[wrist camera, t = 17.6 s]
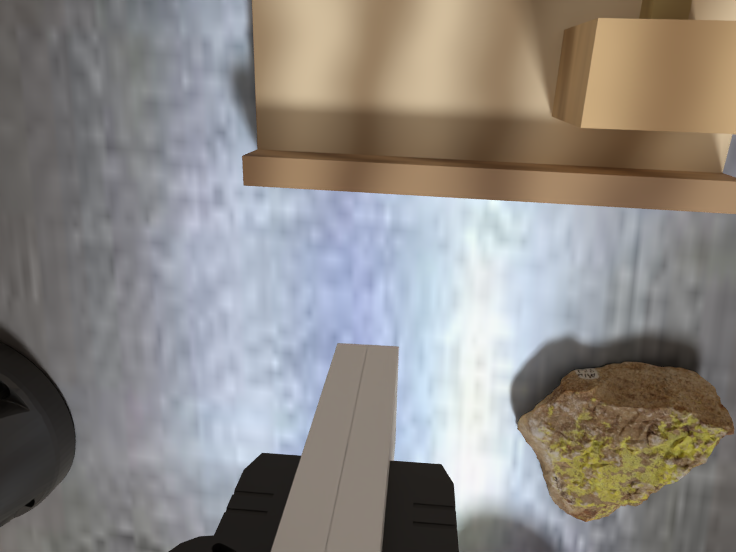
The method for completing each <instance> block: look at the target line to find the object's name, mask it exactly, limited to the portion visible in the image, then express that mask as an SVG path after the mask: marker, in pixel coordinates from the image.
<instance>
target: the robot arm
mask: <svg viewBox="0 0 736 552" xmlns="http://www.w3.org/2000/svg"><path fill="white" fill-rule="evenodd" d="M398 352H399V347H397V346H379V345H361V344H343V343H338V344H337V347H336V350H335V353H334V356H333V359H332V362H331V365H330V369H329V372H328V375H327V378H326V381H325V384H324V387H323V390H322V393H321V397H320V400H319V403H318V406H317V409H316V412H315V415H314V418H313V422H312V425H311V428H310V431H309V434H308V437H307V440H306V443H305V446H304V450H303V453H302V456H297V455H284V454H270V453H262V454H260V455H259V456H258V457H257V458H256V459H255V460H254V461H253V462H252V463H251V464H250V465H249V466H247V467H246V468H245V469H244V471H243V473H242V475H241V477H240V480H239V482H238V484H237V486H236V488H235V491H234V495H232V497H231V499H230V501H229V504H228V506H227V510H226V512H224V515H223V517H222V519H221V521H220V523H219V526H218V528H217V530H216V532H215V534H214V536H200V537H197V538H194V539H191V540H189V541H186V542H183V543H180V544H179V545H177V546H176V547H175V548H173V549H172V550H170V551H169V552H459V549H458V536H457V522H456V511H455V495H454V484H453V482H452V480H451V479H450V477H449V476H448V474H447V472H446V471H445V469H444V468H443V466H442V464H430V463H416V462H403V461H394V451H395V436H396V408H397V380H398ZM75 443H76V442H75V432H74V427H73V423H72V419H71V416H70V414H69V411H68V409H67V407H66V405H65V403H64V401H63V399H62V397H61V396H60V394H59V393H58V391H57V390H56V388H55V387H54V385H53V384H52V383H51V382H50V381H49V379H48V378H47V377H46V376H45V375H44V374H43V373H42V372H41V371H40V370H39V369H38V368H37V367H36V366H35V365H34V364H33V363H32V362H30V361H29V360H28V359H27V358H25V357H24V356H23V355H21V354H20V353H18V352H17V351H15V350H13V349H12V348H10V347H8V346H7V345H5V344H3V343H1V342H0V527H1V526H3V525H4V524H6V523H8V522H9V521H10V520H12V519H13V518H15V517H18V516H20V515H22V514H24V513H26V512H28V511H30V510H31V509H33V508H34V507H36V506H37V505H38V504H40V503H41V502H42V501H43V500H44V499H45V498H46V497H47V496H48V495H49V494H50V493H51V492H52V491H53V490H54V489H55V487H56V486H57V485H58V484H59V483H60V482H61V481H62V480H63V479H64V477H65V476H66V475H67V473H68V471H69V470H70V467H71V465H72V462H73V459H74V455H75Z"/></svg>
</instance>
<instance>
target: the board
mask: <svg viewBox="0 0 736 552" xmlns="http://www.w3.org/2000/svg"><path fill="white" fill-rule="evenodd" d="M641 5H642V0H252V14H253V41H254V68H255V94H256V121H257V148H258V149H257V150H255V151H253V152H250V153H248V154H245V155H243V156H242V161H243V182H244V185H245V186H262V187H280V188H297V189H314V190H331V191H349V192H366V193H383V194H400V195H418V196H435V197H452V198H469V199H487V200H504V201H521V202H538V203H556V204H573V205H590V206H607V207H625V208H642V209H659V210H676V211H694V212H711V213H728V214H736V178H735V177H732V176H729V175H726V174H724V173H722V172H723V168H724V164H725V160H726V157H727V153H728V149H729V145H730V141H731V137H732V134H720V133H695V132H670V131H645V130H620V129H595V128H580V127H577V126H574V125H572V124H569V123H567V122H564V121H562V120H559V119H556V118H554V117H552V112H553V105H554V98H555V91H556V84H557V76H558V69H559V62H560V55H561V48H562V41H563V34H564V30H565V29H568V28H571V27H573V26H576V25H579V24H582V23H585V22H588V21H591V20H594V19H597V18H625V19H639V16H640V11H641ZM688 20H725V21H736V0H692V4H691V8H690V13H689V18H688Z"/></svg>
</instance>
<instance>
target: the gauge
mask: <svg viewBox="0 0 736 552" xmlns="http://www.w3.org/2000/svg"><path fill="white" fill-rule="evenodd" d="M691 4H692V0H642V5H641V11H640V16H639V19H625V18H597V19H594V20H591V21H588V22H585V23H582V24H579V25H576V26H573V27H571V28H568V29H565V30H564V34H563V41H562V48H561V55H560V62H559V69H558V76H557V84H556V91H555V98H554V105H553V112H552V117H554V118H556V119H559V120H562V121H564V122H567V123H569V124H572V125H574V126H577V127H580V128H595V129H620V130H645V131H670V132H695V133H720V134H736V21H725V20H688V18H689V13H690V8H691Z"/></svg>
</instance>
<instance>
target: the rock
mask: <svg viewBox="0 0 736 552" xmlns="http://www.w3.org/2000/svg"><path fill="white" fill-rule="evenodd" d="M517 424H518V428H517V429H518V430H519V431H520V432H521V433H522V435H523V437H524V438H525V440H526V442H527V443H528V444H529V445H530V446H531V447H532V448H533V450H534V452H535V453H536V455H537V459H538V460H539V462H540V464H541V468H542V471H543V476H544V479H545V481H546V484H547V487H548V491H549V495H550V496H551V498H552V499H553V501H554V502H555V504H557V505H558V506H559V508H561V509H562V510H564V511H565V512H566V513H567V514H570V515H571V516H573V517H575V518H577V519H580V520H582V521H585V522H587V521H591V520H595V519H600V518H602V517H606V516H609V515H610V514H611V513H613V512H614V511H615V510H616V509H617V508H619V507H620V505H621V506H626V505H632V506H637V505H640V504H642V502H643V501H645V500H647V499H648V497H649V495H650V494H651V493H656V492H657V491H659V490H660V488H662V487H663V486H664V485H666V484H671V483H674V482H677V481H678V480H679V479H680V478H682V477H683V476H685V475H686V474H688V473H689V472H690V470H691V469H692V468H693V467H696V466H698V465H701V464H703V463H706V460H707V458H708V457H709V456H710V454H711V453H712V451H713V449H714V447H715V446H716V445H717V444H718V443H719V441H720V438H723V437H724V436H725V435H732V434H734V426H733V421H732V419H731V417H730V415H729V413H728V411H727V409H726V408H725V407H724V406H723V405H722V404H721V402H720V397H719V396H718V395H717V393H716V389H715V387H713V386H712V385H711V384H710V383H709V382H707V381H706V380H705V379H703V378H702V377H701V376H700V375H699V374H698V373H696V372H694V371H690V370H687V369H684V368H681V367H678V368H675V367H657V366H654V365H650V364H646V363H641V362H623V363H614V364H609V365H605V366H603V367H599V368H588V369H584V370H581V369H576V370H573V371H571V372H570V373H569V374H567V375H566V376H565V377H564V378H562V379H561V383H560V386H558V387H557V388H556V389H554V391H553V392H552V393H551V394H550V395H547V396H546V398H545V399H543V400H542V401H541V402H539V403H538V404H537V405H536V406H535V408H534V409H533V410H532V411H530V412H528V413H526V414H524V415H522V416H521V418H520V419H519V421H518V423H517Z"/></svg>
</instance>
